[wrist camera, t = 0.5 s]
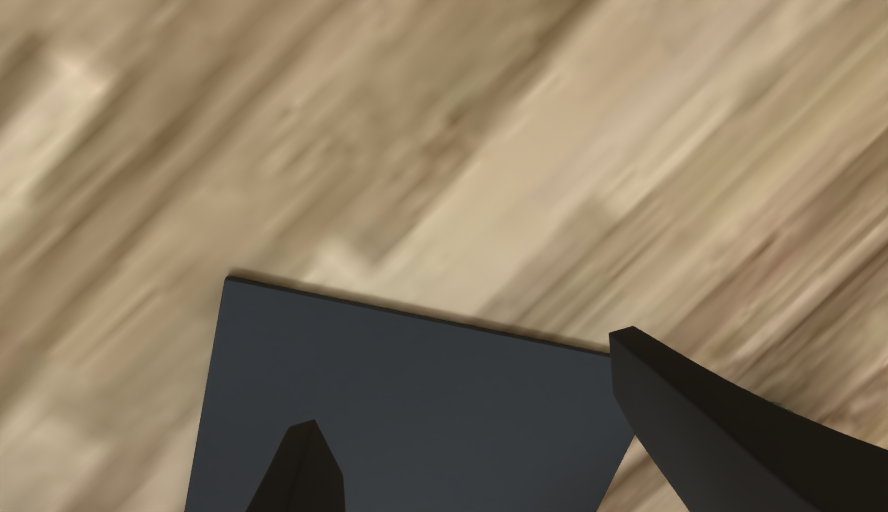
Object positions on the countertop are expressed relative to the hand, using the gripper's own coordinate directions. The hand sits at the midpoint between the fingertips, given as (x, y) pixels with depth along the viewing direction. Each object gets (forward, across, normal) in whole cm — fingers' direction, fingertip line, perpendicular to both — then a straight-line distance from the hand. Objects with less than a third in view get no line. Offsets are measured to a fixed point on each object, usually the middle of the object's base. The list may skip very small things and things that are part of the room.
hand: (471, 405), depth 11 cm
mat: (+9, +2, +11) cm, 15 cm away
